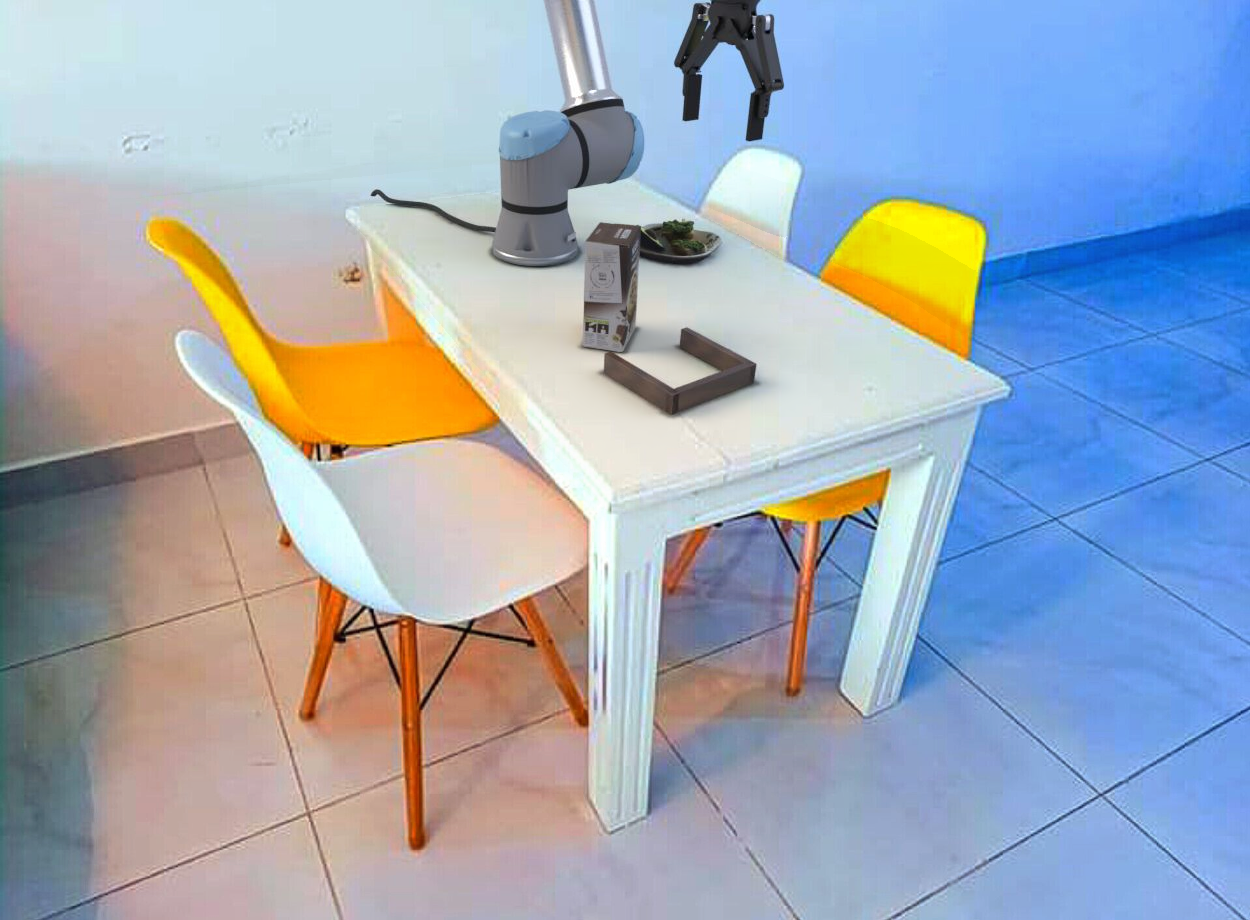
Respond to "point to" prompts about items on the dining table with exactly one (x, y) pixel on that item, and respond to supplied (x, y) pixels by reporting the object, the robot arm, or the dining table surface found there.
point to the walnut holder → (675, 400)
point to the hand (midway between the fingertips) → (721, 129)
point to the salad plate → (676, 243)
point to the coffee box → (611, 286)
